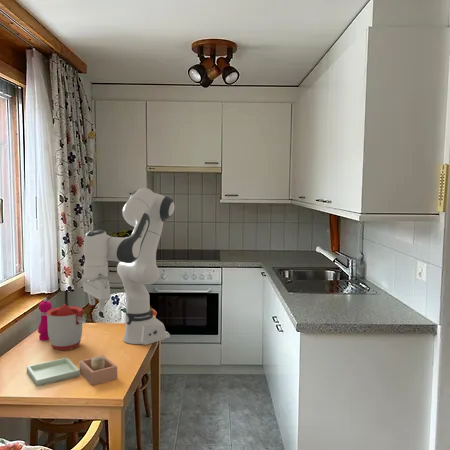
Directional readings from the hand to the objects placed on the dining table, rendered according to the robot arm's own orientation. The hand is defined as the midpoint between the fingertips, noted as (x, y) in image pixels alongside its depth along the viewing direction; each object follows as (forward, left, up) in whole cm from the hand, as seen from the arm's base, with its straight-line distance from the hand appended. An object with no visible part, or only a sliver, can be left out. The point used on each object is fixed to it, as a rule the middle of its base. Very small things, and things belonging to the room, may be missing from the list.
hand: (96, 307), depth 176 cm
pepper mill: (+5, -56, -28) cm, 63 cm away
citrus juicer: (0, -39, -28) cm, 48 cm away
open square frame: (0, 0, -28) cm, 28 cm away
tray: (+14, -12, -28) cm, 33 cm away
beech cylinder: (0, 0, -28) cm, 28 cm away
